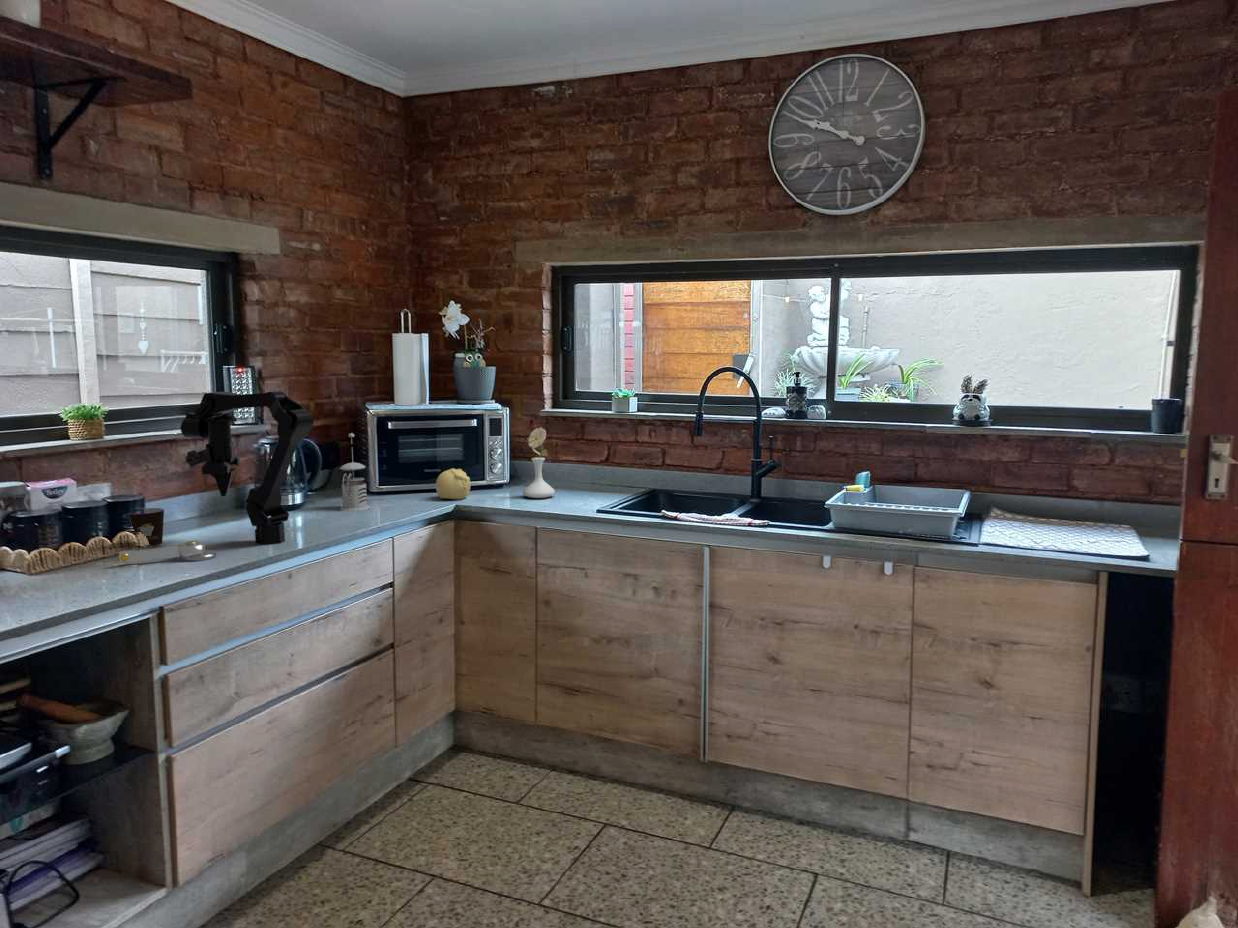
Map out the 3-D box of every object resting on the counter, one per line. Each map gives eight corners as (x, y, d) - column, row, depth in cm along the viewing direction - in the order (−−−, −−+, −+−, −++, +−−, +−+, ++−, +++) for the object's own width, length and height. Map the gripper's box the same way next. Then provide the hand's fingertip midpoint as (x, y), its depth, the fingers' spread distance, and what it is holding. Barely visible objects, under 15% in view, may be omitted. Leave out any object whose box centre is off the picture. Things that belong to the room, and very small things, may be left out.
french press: (374, 505, 291) (371, 431, 288) (361, 512, 280) (357, 435, 276) (346, 505, 292) (343, 431, 289) (332, 511, 280) (328, 435, 277)
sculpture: (472, 500, 299) (471, 469, 298) (436, 502, 297) (435, 471, 295) (470, 495, 310) (469, 465, 309) (436, 496, 308) (434, 466, 306)
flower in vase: (518, 496, 308) (516, 426, 305) (548, 493, 313) (547, 424, 309) (530, 501, 296) (528, 429, 293) (561, 499, 301) (560, 427, 298)
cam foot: (214, 552, 221) (213, 536, 220) (218, 558, 214) (217, 542, 214) (119, 563, 210) (117, 546, 210) (119, 570, 204) (118, 553, 203)
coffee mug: (172, 543, 236) (169, 507, 235) (157, 551, 227) (154, 513, 226) (129, 544, 236) (126, 508, 234) (112, 551, 227) (108, 514, 226)
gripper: (195, 436, 240) (199, 491, 242) (178, 443, 222) (182, 503, 224) (238, 435, 243) (242, 490, 245) (224, 442, 225) (229, 501, 227)
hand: (223, 495), depth 235 cm, fingers closed
